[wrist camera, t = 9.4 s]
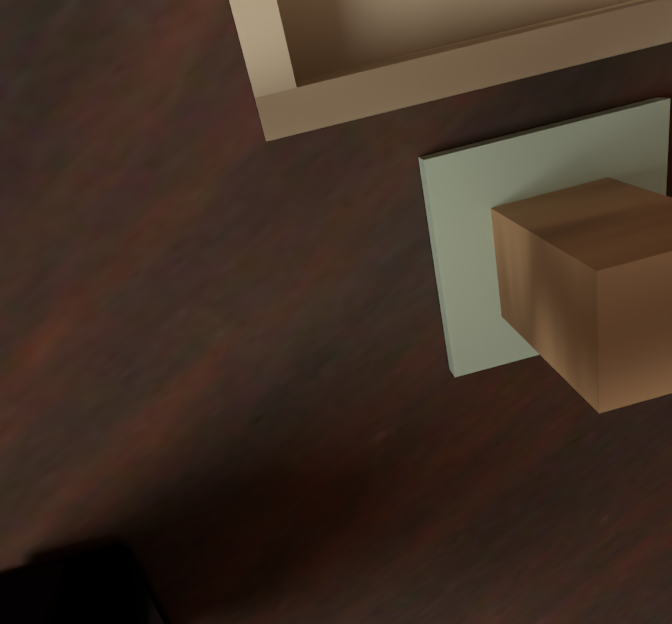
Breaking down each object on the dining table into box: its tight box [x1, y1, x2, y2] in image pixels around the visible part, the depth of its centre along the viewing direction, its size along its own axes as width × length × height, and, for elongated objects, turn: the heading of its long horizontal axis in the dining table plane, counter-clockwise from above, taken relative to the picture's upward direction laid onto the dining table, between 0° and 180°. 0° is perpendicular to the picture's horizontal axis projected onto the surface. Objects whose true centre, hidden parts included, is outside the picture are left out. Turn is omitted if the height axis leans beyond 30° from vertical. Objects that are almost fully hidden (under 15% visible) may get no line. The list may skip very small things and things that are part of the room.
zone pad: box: [418, 97, 670, 377], centre depth 19 cm, size 8×8×1 cm
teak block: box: [491, 177, 672, 413], centre depth 16 cm, size 4×4×6 cm
